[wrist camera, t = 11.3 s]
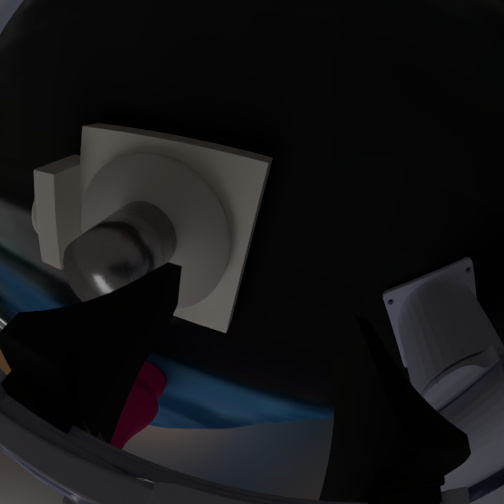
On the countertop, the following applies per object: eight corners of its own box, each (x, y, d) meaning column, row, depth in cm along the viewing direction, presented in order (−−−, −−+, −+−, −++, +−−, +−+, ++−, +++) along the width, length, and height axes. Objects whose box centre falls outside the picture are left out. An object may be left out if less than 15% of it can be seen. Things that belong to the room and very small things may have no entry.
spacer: (189, 256, 21) (149, 309, 15) (136, 273, 22) (93, 321, 17) (155, 189, 19) (101, 225, 14) (104, 215, 20) (51, 253, 15)
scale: (272, 157, 19) (259, 175, 15) (231, 317, 26) (214, 361, 22) (73, 120, 20) (27, 130, 16) (74, 261, 27) (42, 288, 23)
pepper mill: (113, 370, 35) (39, 490, 17) (123, 342, 31) (31, 484, 14) (161, 399, 35) (100, 526, 18) (178, 375, 32) (106, 529, 14)
